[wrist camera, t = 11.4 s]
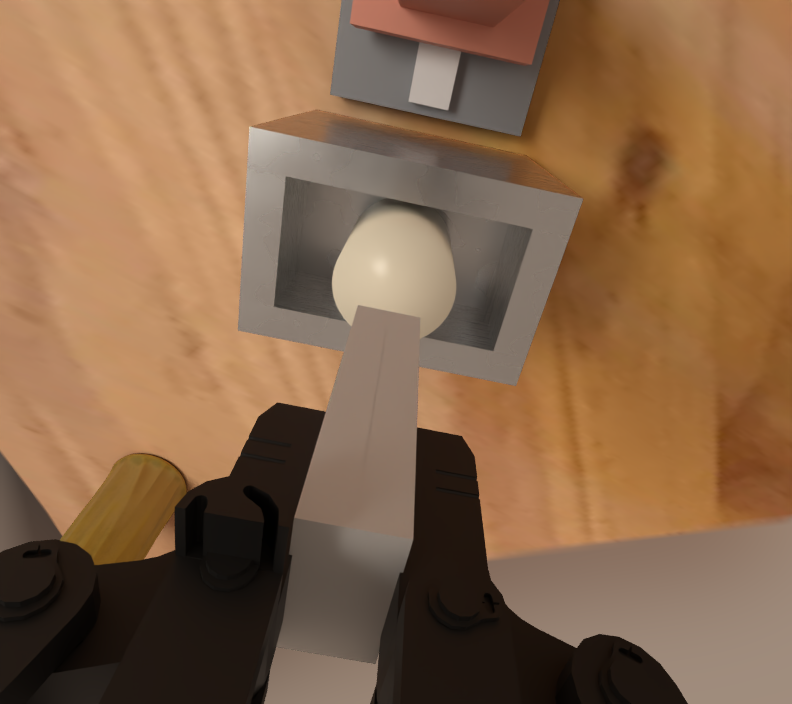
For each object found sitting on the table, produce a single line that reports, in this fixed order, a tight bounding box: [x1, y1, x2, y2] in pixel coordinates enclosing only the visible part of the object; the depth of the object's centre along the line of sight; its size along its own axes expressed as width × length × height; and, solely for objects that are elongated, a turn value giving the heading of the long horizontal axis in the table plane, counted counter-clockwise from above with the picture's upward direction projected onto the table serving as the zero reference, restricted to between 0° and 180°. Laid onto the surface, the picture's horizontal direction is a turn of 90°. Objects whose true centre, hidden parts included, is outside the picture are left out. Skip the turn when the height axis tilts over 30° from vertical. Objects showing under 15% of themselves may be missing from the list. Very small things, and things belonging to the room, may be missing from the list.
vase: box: [60, 454, 187, 565], centre depth 36 cm, size 6×6×14 cm
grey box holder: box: [238, 110, 583, 386], centre depth 25 cm, size 8×13×12 cm, turn 79°
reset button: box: [332, 198, 456, 339], centre depth 20 cm, size 4×4×5 cm
